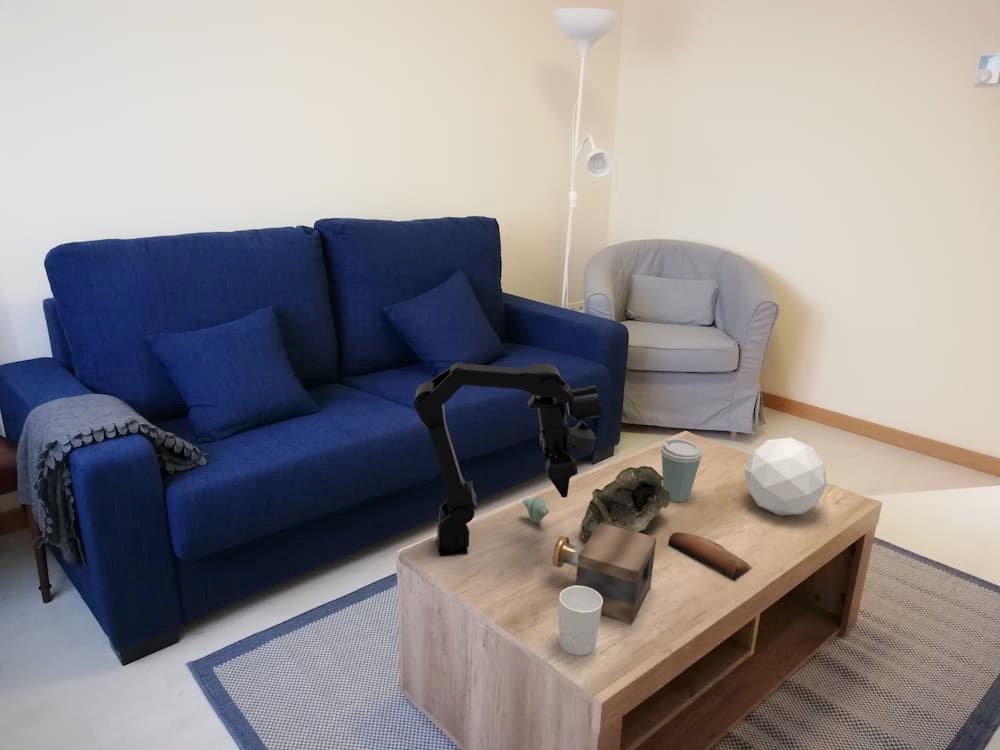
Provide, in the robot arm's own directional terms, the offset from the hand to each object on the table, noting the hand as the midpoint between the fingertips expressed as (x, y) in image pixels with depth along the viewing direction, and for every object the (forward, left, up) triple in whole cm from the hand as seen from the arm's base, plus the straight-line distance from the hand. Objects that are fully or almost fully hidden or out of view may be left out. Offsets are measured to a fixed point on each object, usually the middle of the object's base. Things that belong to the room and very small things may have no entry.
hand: (562, 486), depth 162 cm
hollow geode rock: (+19, +6, -16) cm, 26 cm away
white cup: (-6, -32, -16) cm, 36 cm away
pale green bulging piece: (-2, +12, -16) cm, 20 cm away
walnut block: (+6, -19, -16) cm, 26 cm away
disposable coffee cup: (+38, +19, -16) cm, 46 cm away
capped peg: (+1, -15, -12) cm, 19 cm away
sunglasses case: (+34, -8, -16) cm, 38 cm away
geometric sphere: (+62, +9, -16) cm, 65 cm away
